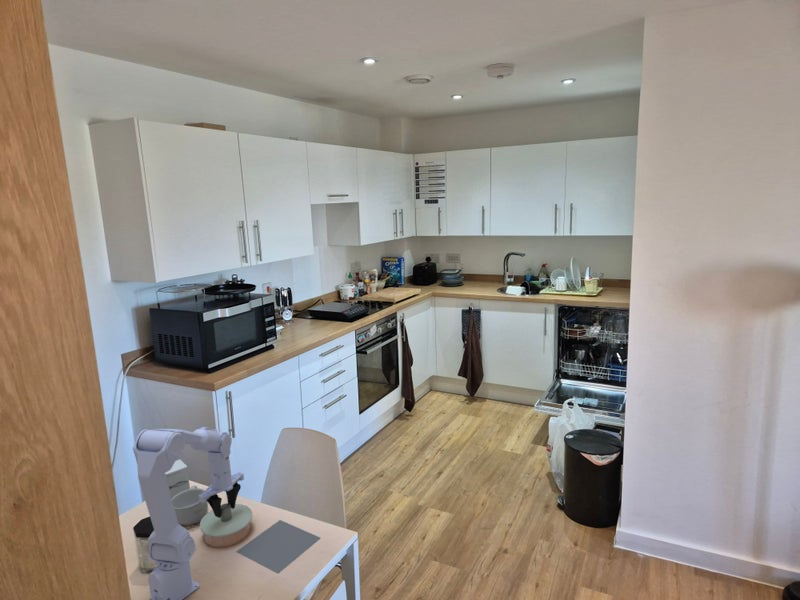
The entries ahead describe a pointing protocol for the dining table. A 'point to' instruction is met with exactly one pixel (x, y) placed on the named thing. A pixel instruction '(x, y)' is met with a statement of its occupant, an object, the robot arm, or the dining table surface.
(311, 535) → the mat
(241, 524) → the cover
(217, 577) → the dining table surface
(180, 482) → the supplement box
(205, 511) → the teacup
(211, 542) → the bowl
